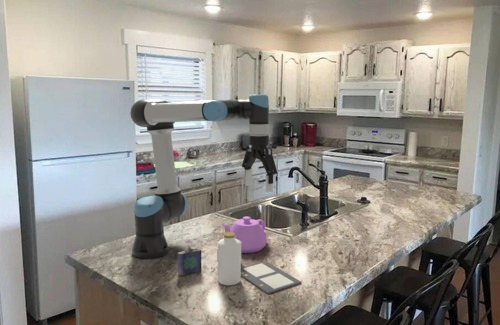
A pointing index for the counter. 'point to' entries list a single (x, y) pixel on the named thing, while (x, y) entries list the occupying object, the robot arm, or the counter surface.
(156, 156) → the robot arm
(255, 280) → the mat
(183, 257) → the flask
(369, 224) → the counter surface
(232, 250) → the white bottle
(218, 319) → the counter surface
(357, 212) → the counter surface
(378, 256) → the counter surface
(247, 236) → the teapot
